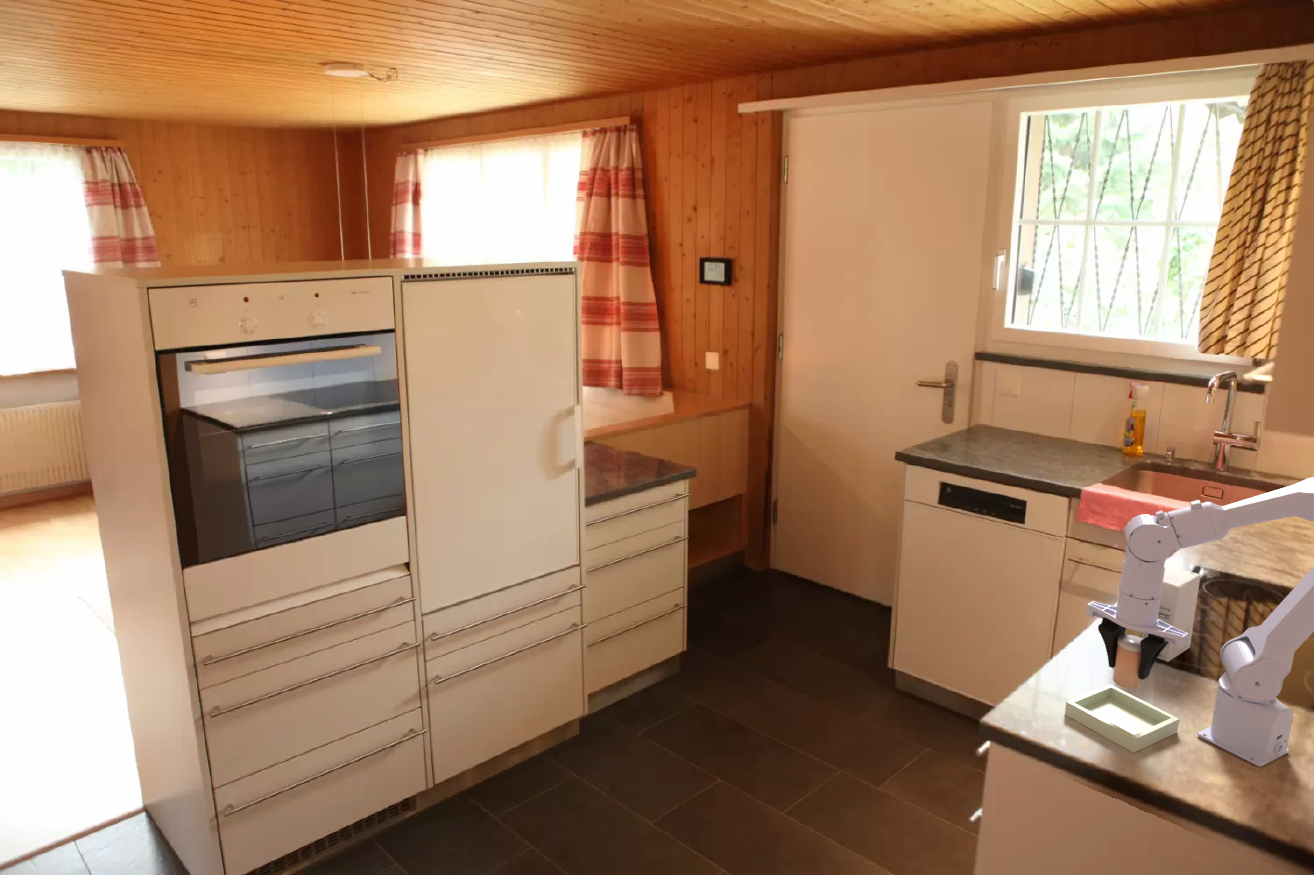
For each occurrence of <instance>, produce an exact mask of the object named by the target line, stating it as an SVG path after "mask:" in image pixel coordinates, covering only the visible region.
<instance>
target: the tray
mask: <svg viewBox="0 0 1314 875" xmlns="http://www.w3.org/2000/svg"><path fill="white" fill-rule="evenodd" d="M1064 715H1065V716H1066V717H1068V718H1071V719H1072V720H1073V721H1076V723H1079V724H1080V725H1083V726H1084V727H1086V728H1088V729H1090V730H1091V729H1092V730H1091V731H1093V732H1095V733H1097V734H1099V735H1101V736H1102V737H1104V738H1106V739H1107V740H1109V741H1111V742H1113V743H1115V744H1116V745H1119V746H1120V747H1122V748H1124V749H1125V750H1128V752H1131V753H1132V754H1134V753H1137V752H1139V751H1141V750H1143V749H1145V748H1147V747H1149V746H1151V745H1154V744H1156V743H1158V742H1160V741H1163V740H1164V739H1167V738H1168V737H1171V736H1173V735H1175V734H1177V733H1178V731H1179V726H1180V725H1179V724H1180V718H1178V717H1176V716H1175V715H1172V714H1170V713H1169V712H1167V711H1164V710H1163V709H1160V708H1159V707H1157V706H1155V705H1152V704H1151V703H1149V702H1147V701H1146V700H1142V699H1140V698H1138V697H1137V696H1135V695H1133V694H1131V693H1128V692H1127V691H1124V690H1123V689H1121V688H1119V687H1116V686H1115V685H1113V684H1111V683H1109V684H1106V685H1104V686H1101V687H1099V688H1096V689H1094V690H1091V691H1088V692H1086V693H1084V694H1082V695H1078V696H1076V697H1075V698H1072V699H1069V700H1067V701H1065V708H1064Z"/></svg>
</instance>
